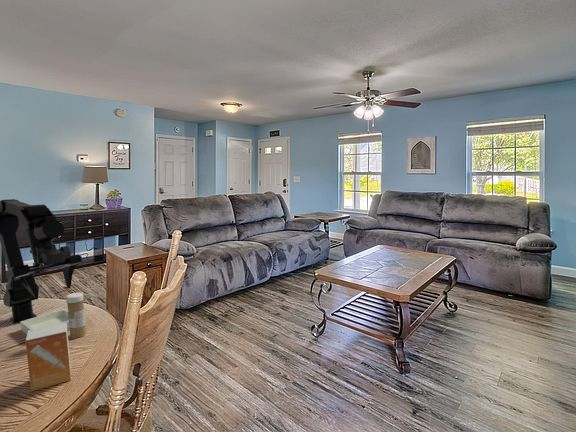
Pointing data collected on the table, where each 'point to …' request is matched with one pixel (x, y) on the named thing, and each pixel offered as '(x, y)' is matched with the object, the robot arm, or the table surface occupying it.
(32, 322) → the tray
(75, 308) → the sprinkles bottle
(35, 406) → the table surface
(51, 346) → the small box
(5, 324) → the table surface
